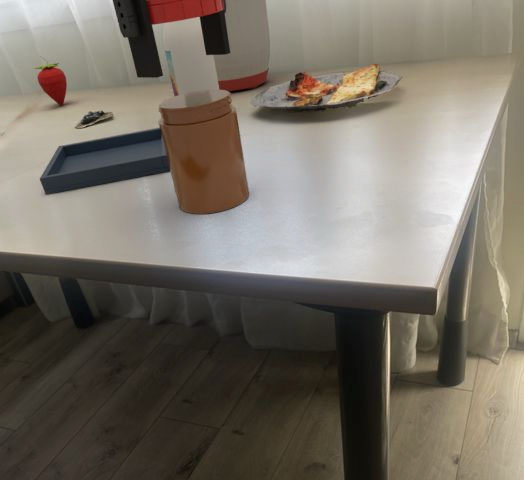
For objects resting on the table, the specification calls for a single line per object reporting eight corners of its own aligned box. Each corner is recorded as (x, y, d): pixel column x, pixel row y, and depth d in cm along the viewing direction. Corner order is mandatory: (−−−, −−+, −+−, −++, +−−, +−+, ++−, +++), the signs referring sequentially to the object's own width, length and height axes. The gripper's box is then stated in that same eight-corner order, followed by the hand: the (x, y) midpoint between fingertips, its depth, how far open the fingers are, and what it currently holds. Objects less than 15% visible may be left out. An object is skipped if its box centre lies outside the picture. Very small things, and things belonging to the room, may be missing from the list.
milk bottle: (230, 109, 93) (208, -30, 81) (209, 122, 88) (182, -24, 76) (193, 110, 97) (167, -23, 85) (171, 122, 91) (139, -17, 79)
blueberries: (121, 116, 101) (118, 105, 100) (89, 129, 96) (86, 118, 95) (97, 115, 105) (94, 105, 103) (66, 128, 100) (62, 117, 98)
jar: (179, 219, 56) (154, 114, 50) (177, 193, 62) (155, 97, 56) (253, 205, 56) (237, 99, 50) (244, 181, 63) (229, 84, 56)
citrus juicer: (197, 85, 116) (176, -26, 104) (276, 73, 114) (264, -41, 102) (187, 101, 103) (161, -23, 92) (275, 89, 101) (260, -40, 90)
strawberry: (47, 111, 116) (28, 60, 110) (48, 105, 122) (31, 56, 116) (74, 105, 117) (57, 54, 111) (74, 99, 123) (58, 51, 117)
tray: (45, 194, 69) (39, 178, 68) (63, 160, 82) (58, 146, 80) (171, 170, 70) (167, 154, 69) (169, 140, 82) (166, 126, 81)
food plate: (286, 87, 102) (284, 66, 99) (411, 78, 93) (411, 56, 91) (234, 125, 84) (230, 102, 82) (382, 119, 75) (382, 92, 73)
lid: (124, 29, 45) (118, 5, 44) (133, 20, 52) (128, -2, 51) (226, 12, 45) (222, -13, 44) (221, 5, 53) (218, -16, 51)
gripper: (11, -343, 30) (127, 94, 43) (251, -283, 42) (282, 41, 56) (-51, -292, 34) (72, 92, 47) (184, -252, 46) (228, 43, 60)
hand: (186, 64), depth 51 cm, fingers closed on lid, 9 cm apart
